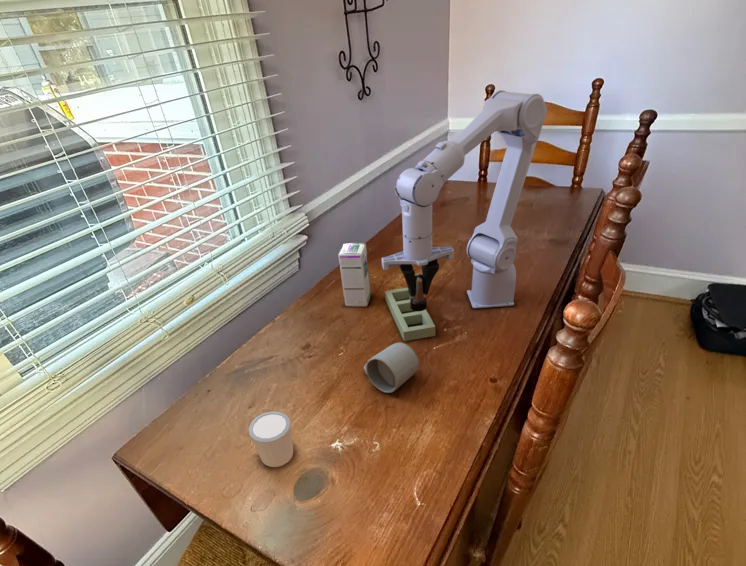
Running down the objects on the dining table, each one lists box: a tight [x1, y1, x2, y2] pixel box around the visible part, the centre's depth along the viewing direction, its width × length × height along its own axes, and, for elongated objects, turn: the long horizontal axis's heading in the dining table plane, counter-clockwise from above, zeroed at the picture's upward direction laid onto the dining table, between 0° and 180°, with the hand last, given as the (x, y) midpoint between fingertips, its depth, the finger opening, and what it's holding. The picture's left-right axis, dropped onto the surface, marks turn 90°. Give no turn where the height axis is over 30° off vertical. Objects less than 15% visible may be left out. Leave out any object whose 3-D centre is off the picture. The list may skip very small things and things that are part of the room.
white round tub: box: [248, 411, 294, 468], centre depth 80 cm, size 7×7×7 cm
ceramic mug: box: [363, 341, 420, 394], centre depth 92 cm, size 11×8×8 cm
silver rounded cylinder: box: [410, 273, 428, 312], centre depth 100 cm, size 4×4×8 cm
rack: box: [384, 286, 437, 342], centre depth 111 cm, size 7×18×2 cm, turn 8°
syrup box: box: [337, 242, 372, 307], centre depth 115 cm, size 6×6×14 cm
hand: (418, 293), depth 101 cm, fingers closed on silver rounded cylinder, 2 cm apart
